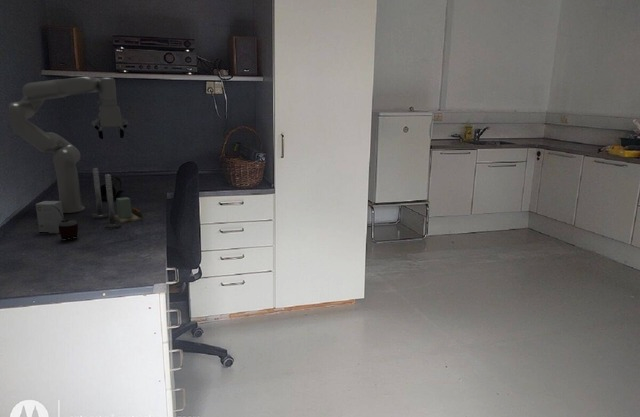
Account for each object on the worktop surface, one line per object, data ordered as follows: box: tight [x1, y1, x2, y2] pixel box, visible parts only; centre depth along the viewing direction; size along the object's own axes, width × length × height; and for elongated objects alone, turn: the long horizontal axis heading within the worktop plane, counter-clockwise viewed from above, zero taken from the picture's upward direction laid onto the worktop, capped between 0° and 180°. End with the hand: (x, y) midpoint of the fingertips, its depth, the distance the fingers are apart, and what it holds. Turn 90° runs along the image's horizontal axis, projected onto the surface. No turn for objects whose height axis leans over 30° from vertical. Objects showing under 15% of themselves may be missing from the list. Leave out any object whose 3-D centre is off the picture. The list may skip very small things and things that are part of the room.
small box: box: [35, 200, 65, 234], centre depth 208 cm, size 8×6×13 cm
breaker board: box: [115, 207, 144, 224], centre depth 231 cm, size 10×12×4 cm
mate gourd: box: [51, 204, 79, 240], centre depth 198 cm, size 8×8×15 cm
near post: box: [103, 173, 122, 229], centre depth 215 cm, size 7×7×24 cm
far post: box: [91, 167, 109, 220], centre depth 230 cm, size 7×7×24 cm
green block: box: [115, 196, 132, 219], centre depth 229 cm, size 5×5×9 cm
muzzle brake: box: [100, 174, 123, 201], centre depth 276 cm, size 10×28×10 cm, turn 16°
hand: (111, 138), depth 240 cm, fingers open, 9 cm apart
